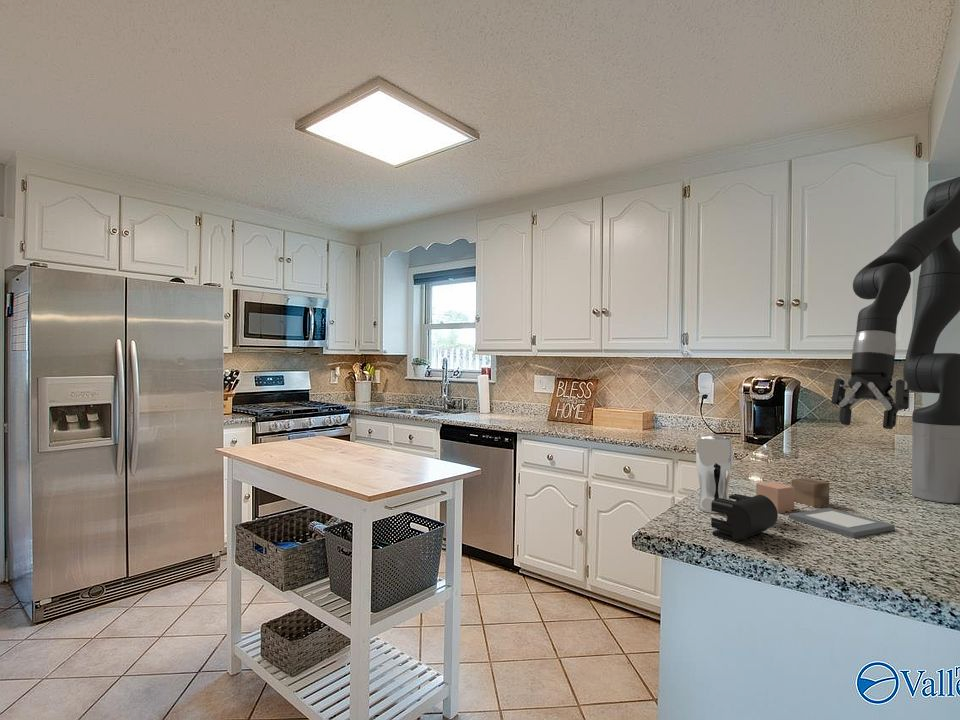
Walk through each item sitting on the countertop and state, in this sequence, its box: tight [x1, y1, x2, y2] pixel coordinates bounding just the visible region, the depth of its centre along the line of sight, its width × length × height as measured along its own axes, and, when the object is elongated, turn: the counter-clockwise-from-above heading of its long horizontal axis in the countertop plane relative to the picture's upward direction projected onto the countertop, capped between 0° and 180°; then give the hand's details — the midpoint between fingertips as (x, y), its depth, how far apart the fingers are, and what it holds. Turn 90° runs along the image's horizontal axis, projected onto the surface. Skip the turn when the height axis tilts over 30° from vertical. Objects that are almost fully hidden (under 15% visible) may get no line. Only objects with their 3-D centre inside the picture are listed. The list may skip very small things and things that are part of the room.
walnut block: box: [791, 477, 830, 508], centre depth 113 cm, size 5×5×5 cm
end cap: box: [710, 493, 779, 543], centre depth 91 cm, size 10×7×7 cm
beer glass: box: [695, 434, 734, 515], centre depth 107 cm, size 7×7×15 cm
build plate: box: [788, 507, 896, 539], centre depth 98 cm, size 12×12×1 cm
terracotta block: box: [755, 481, 795, 513], centre depth 109 cm, size 5×5×5 cm
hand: (865, 426), depth 113 cm, fingers open, 8 cm apart
